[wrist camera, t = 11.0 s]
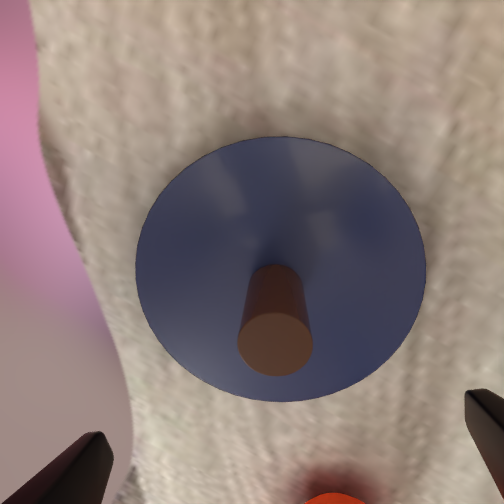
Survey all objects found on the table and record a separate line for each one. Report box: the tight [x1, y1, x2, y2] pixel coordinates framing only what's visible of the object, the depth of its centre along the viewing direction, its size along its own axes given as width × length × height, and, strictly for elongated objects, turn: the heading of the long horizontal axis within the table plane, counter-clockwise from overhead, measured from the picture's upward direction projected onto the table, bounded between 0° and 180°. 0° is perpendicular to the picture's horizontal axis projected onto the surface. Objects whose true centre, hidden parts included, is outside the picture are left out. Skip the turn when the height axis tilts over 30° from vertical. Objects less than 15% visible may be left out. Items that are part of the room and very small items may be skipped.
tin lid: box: [135, 136, 426, 402], centre depth 13 cm, size 14×14×6 cm
